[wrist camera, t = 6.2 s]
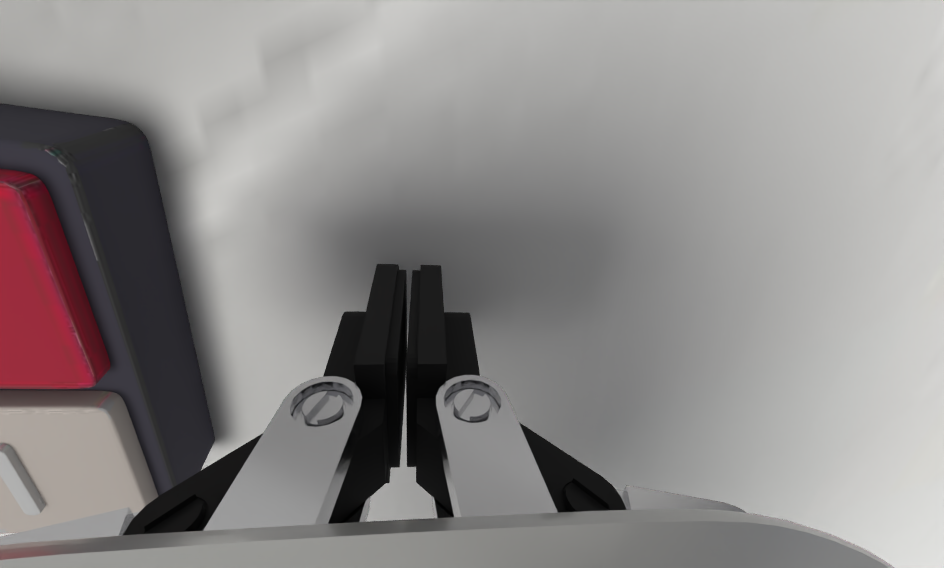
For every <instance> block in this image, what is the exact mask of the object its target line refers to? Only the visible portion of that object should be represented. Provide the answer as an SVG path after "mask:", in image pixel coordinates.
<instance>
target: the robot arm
mask: <svg viewBox="0 0 944 568" xmlns="http://www.w3.org/2000/svg"><path fill="white" fill-rule="evenodd" d="M405 380H406V395H407V467H416V482H417V483H418V484H419V485H420V486H421V487H422V488H424V489H425V490H426V491H427V492H428V493H429V494H430V495H431V496H432V509H433V515H434V518H433V519H413V520H393V521H374V522H366V519H367V516H368V512H369V508H370V496H372V495H373V494H374V493H375V492H376V491H377V490H378V489H380V488H381V487H382V486H383V485H384V484H385V483H389V480H390V469H391V467H400V455H401V440H402V425H403V410H404V395H405ZM0 568H894V567H893V566H892V565H890V564H889V563H887V562H886V561H884V560H882V559H881V558H879V557H877V556H876V555H874V554H873V553H871V552H869V551H867V550H865V549H863V548H861V547H859V546H857V545H855V544H852V543H850V542H848V541H846V540H843V539H841V538H838V537H836V536H833V535H831V534H828V533H825V532H822V531H819V530H816V529H813V528H810V527H806V526H803V525H800V524H797V523H794V522H791V521H787V520H783V519H778V518H772V517H767V516H762V515H757V514H752V513H746V512H745V511H743V510H742V509H740V508H738V507H736V506H733V505H730V504H727V503H724V502H718V501H713V500H707V499H701V498H696V497H690V496H685V495H679V494H673V493H668V492H662V491H657V490H651V489H645V488H640V487H634V486H629V485H626V487H625V490H624V491H623V490H618V489H615V488H614V487H613V486H612V485H611V484H610V483H609V482H608V481H607V480H605V479H604V478H603V477H602V476H600V475H599V474H597V473H596V472H594V471H593V470H591V469H589V468H588V467H586V466H585V465H583V464H582V463H580V462H579V461H577V460H576V459H574V458H573V457H571V456H570V455H568V454H567V453H565V452H563V451H562V450H560V449H559V448H557V447H556V446H554V445H553V444H551V443H550V442H548V441H547V440H545V439H544V438H542V437H541V436H539V435H537V434H536V433H534V432H533V431H531V430H530V429H528V428H527V427H525V426H524V425H522V424H521V423H519V422H518V419H517V417H516V415H515V412H514V410H513V408H512V405H511V403H510V401H509V398H508V396H507V394H506V393H505V391H504V390H503V388H502V387H501V386H499V385H498V384H497V383H496V382H494V381H492V380H490V379H488V378H486V377H482V376H480V373H479V367H478V361H477V354H476V348H475V342H474V336H473V330H472V323H471V317H470V313H456V312H444V306H443V290H442V274H441V266H440V265H421V270H413V272H412V287H411V302H410V316H409V331H408V346H407V284H406V270H399V266H398V265H394V264H377V267H376V271H375V275H374V280H373V284H372V288H371V292H370V297H369V301H368V305H367V309H366V312H344V314H343V316H342V319H341V322H340V325H339V329H338V332H337V335H336V338H335V341H334V344H333V347H332V350H331V354H330V357H329V360H328V363H327V366H326V369H325V372H324V376H323V377H320V378H315V379H311V380H309V381H307V382H304V383H302V384H300V385H299V386H298V387H296V388H295V389H293V390H292V391H291V392H290V393H289V394H288V395H287V397H286V398H285V399H284V401H283V402H282V404H281V405H280V407H279V409H278V410H277V412H276V414H275V415H274V417H273V418H272V420H271V422H270V423H269V425H268V426H267V428H266V430H265V431H264V433H263V434H261V435H260V436H258V437H256V438H255V439H253V440H251V441H250V442H248V443H246V444H245V445H243V446H241V447H240V448H238V449H236V450H235V451H233V452H231V453H230V454H228V455H226V456H225V457H223V458H221V459H220V460H218V461H216V462H215V463H213V464H211V465H210V466H208V467H206V468H205V469H203V470H201V471H200V472H198V473H196V474H195V475H193V476H191V477H190V478H188V479H186V480H185V481H183V482H181V483H180V484H178V485H176V486H175V487H173V488H171V489H170V490H168V491H166V492H165V493H163V494H161V495H160V496H158V497H157V498H156V499H154V500H153V501H152V502H150V503H149V504H147V505H146V506H145V507H144V508H143V509H142V510H141V511H140V512H135V513H132V511H131V510H130V508H129V507H127V508H123V509H119V510H114V511H110V512H106V513H101V514H97V515H93V516H88V517H84V518H80V519H75V520H71V521H67V522H63V523H58V524H54V525H50V526H45V527H41V528H37V529H32V530H28V531H24V532H19V533H15V534H11V535H6V536H2V537H0Z"/></svg>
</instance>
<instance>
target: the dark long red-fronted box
mask: <svg viewBox="0 0 944 568" xmlns="http://www.w3.org/2000/svg"><path fill="white" fill-rule="evenodd" d="M214 440H215V437H214V432H213V427H212V423H211V418H210V414H209V409H208V405H207V400H206V396H205V391H204V387H203V382H202V378H201V374H200V369H199V365H198V360H197V356H196V351H195V347H194V342H193V338H192V333H191V329H190V324H189V320H188V315H187V311H186V306H185V302H184V297H183V293H182V288H181V284H180V279H179V275H178V270H177V266H176V261H175V257H174V252H173V248H172V243H171V239H170V234H169V230H168V225H167V221H166V216H165V212H164V207H163V203H162V198H161V194H160V190H159V185H158V181H157V176H156V172H155V167H154V163H153V158H152V154H151V150H150V146H149V143H148V140H147V138H146V137H145V135H144V134H143V132H142V131H141V130H140V129H139V128H137V127H136V126H134V125H133V124H131V123H129V122H126V121H123V120H117V119H112V118H104V117H97V116H89V115H82V114H74V113H67V112H59V111H52V110H44V109H37V108H29V107H22V106H14V105H7V104H0V534H5V533H19V532H24V531H28V530H32V529H37V528H41V527H45V526H50V525H54V524H58V523H63V522H67V521H71V520H75V519H80V518H84V517H88V516H93V515H97V514H101V513H106V512H110V511H114V510H119V509H123V508H127V507H129V508H130V510H131V511H132V513H135V512H140V511H141V510H142V509H143V508H144V507H145V506H146V505H147V504H149V503H150V502H152V501H153V500H154V499H156V498H157V497H158V496H160V495H161V494H163V493H165V492H166V491H168V490H170V489H171V488H173V487H175V486H176V485H178V484H180V483H181V482H183V481H185V480H186V479H188V478H190V477H191V476H193V475H195V474H196V473H198V472H200V471H201V468H202V466H203V464H204V462H205V460H206V458H207V456H208V454H209V451H210V449H211V447H212V445H213V443H214Z"/></svg>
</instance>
